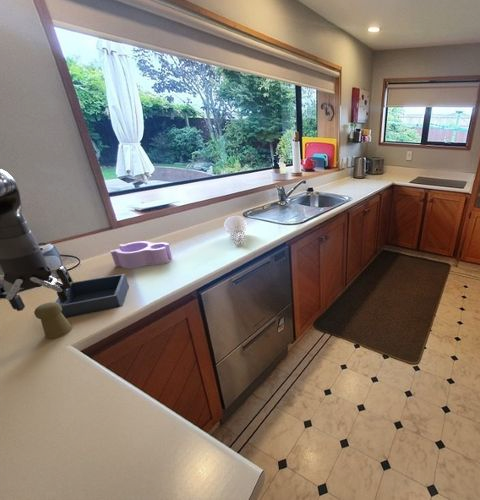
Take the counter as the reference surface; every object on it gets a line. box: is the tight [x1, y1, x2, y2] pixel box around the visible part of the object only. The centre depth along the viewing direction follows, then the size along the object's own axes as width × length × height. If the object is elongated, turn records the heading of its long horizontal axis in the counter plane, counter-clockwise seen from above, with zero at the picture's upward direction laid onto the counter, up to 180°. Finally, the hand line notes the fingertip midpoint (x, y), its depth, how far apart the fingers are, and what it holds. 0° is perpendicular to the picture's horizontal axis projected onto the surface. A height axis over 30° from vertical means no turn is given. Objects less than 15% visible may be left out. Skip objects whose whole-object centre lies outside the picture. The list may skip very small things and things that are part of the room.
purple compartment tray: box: [110, 240, 173, 269], centre depth 122 cm, size 20×12×7 cm, turn 101°
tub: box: [55, 273, 130, 319], centre depth 94 cm, size 16×16×6 cm
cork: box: [33, 301, 73, 340], centre depth 78 cm, size 6×6×11 cm
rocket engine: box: [223, 215, 248, 247], centre depth 146 cm, size 12×12×18 cm
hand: (43, 305), depth 76 cm, fingers open, 8 cm apart
